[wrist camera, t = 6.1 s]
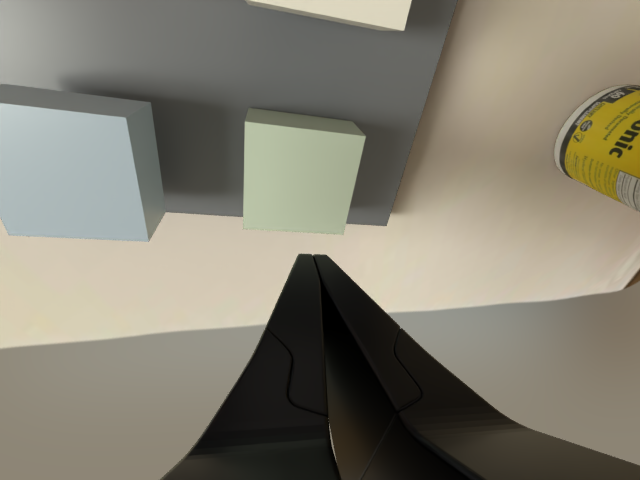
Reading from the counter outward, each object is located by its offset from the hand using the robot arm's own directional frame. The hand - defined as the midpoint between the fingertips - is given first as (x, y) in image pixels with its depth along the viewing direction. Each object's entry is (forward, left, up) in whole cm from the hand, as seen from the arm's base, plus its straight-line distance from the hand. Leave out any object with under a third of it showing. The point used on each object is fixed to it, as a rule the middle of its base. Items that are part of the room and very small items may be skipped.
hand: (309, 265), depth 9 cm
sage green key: (0, 0, -8) cm, 8 cm away
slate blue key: (+8, 0, -7) cm, 10 cm away
